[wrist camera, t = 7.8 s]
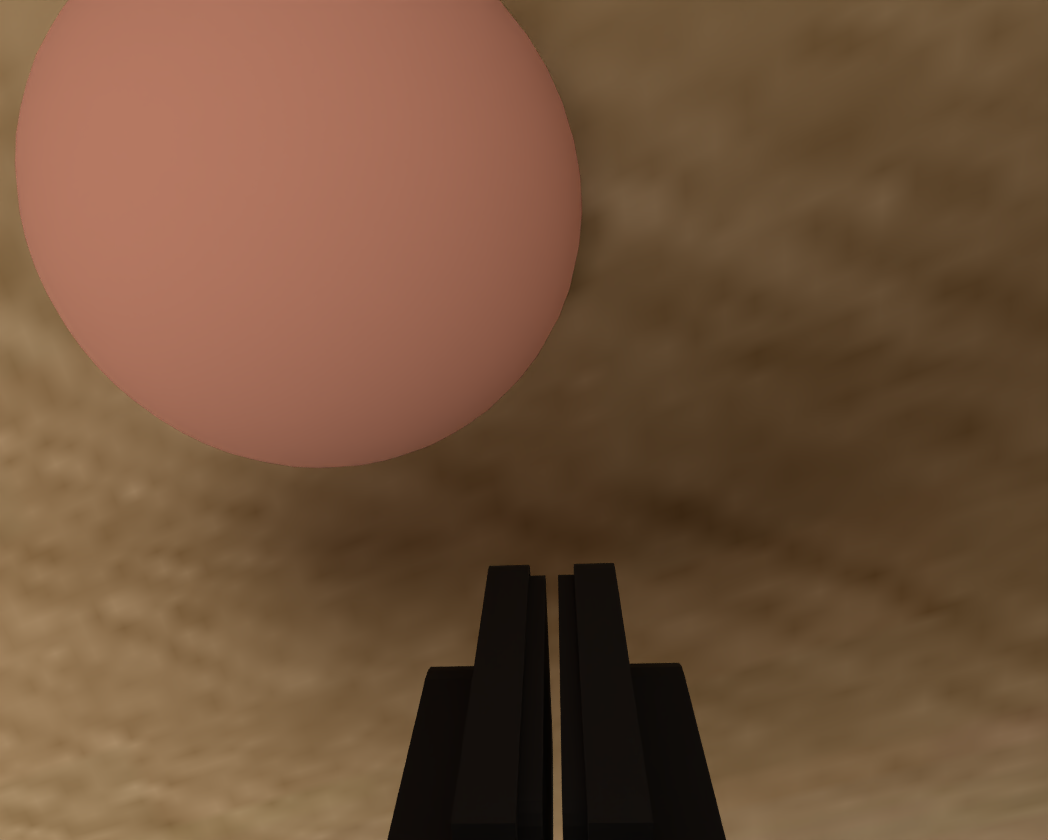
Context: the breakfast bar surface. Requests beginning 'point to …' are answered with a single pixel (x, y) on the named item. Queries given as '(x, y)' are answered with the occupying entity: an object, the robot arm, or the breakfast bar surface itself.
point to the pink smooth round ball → (300, 214)
